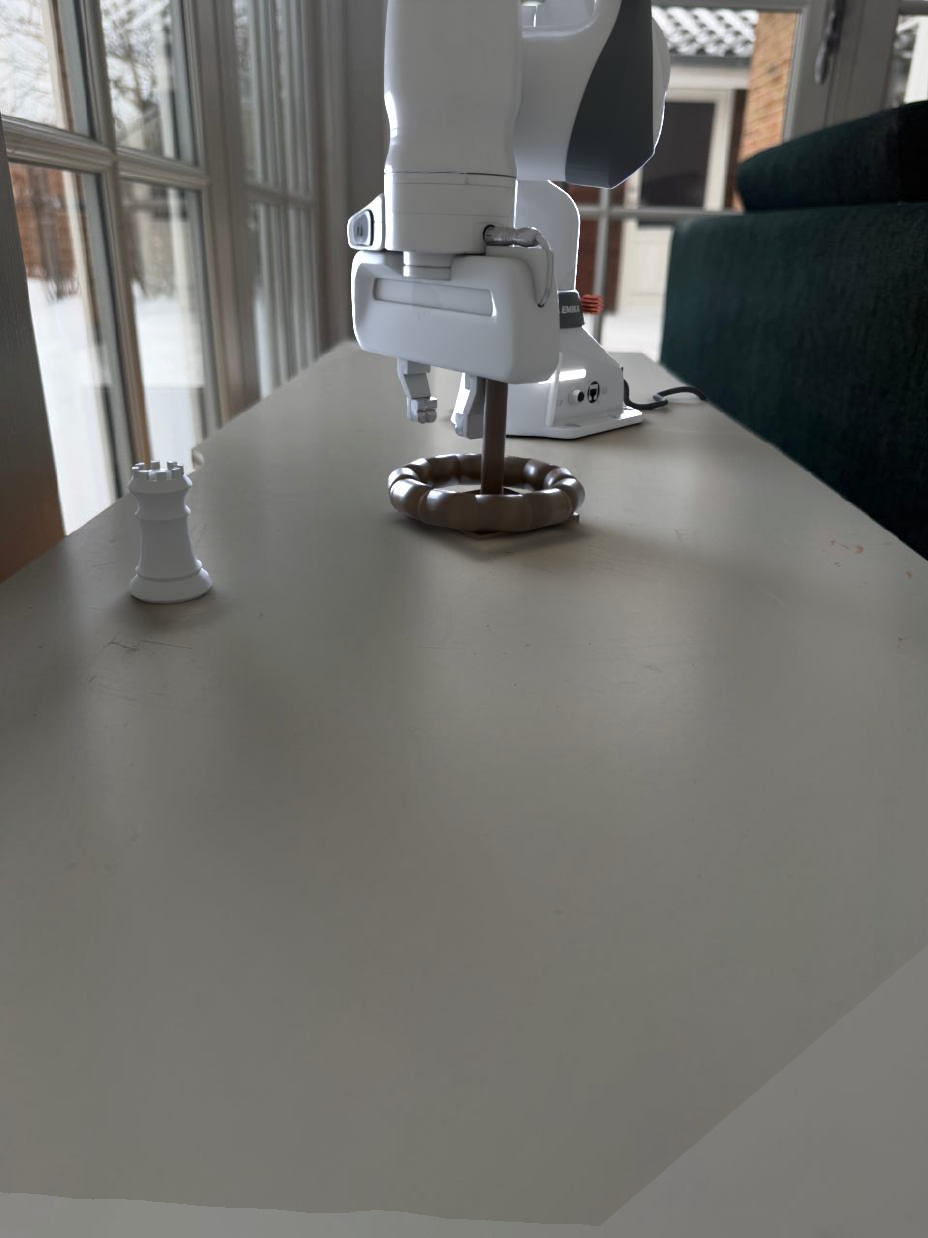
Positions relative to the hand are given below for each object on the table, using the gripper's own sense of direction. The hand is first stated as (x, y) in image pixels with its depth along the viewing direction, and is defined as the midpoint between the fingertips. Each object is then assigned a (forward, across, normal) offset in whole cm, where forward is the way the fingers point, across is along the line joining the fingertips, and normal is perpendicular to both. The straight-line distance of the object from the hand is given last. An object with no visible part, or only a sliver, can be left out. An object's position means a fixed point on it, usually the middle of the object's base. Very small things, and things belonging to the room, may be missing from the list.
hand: (445, 429), depth 65 cm
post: (+6, -6, 0) cm, 8 cm away
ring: (+3, -5, 0) cm, 6 cm away
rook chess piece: (+6, -8, +24) cm, 26 cm away
